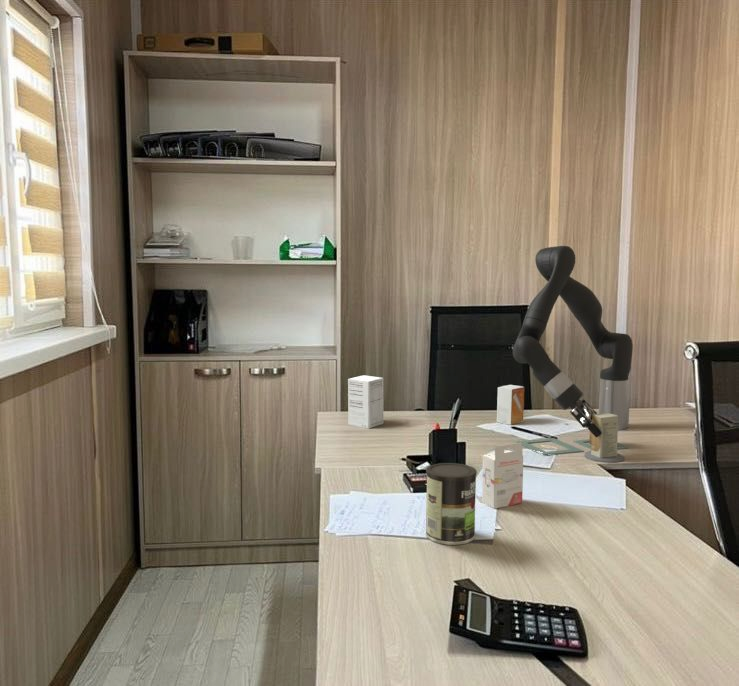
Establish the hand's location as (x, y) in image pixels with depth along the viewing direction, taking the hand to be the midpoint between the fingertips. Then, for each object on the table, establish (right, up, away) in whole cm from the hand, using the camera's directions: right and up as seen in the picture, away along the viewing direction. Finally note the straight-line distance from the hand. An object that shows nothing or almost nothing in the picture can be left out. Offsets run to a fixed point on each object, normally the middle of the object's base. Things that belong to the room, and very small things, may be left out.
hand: (601, 432), depth 197 cm
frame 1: (-12, -6, +12) cm, 18 cm away
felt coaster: (+1, -7, 0) cm, 8 cm away
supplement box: (-69, -3, +41) cm, 81 cm away
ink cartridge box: (-37, -12, -38) cm, 54 cm away
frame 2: (+5, -6, +14) cm, 16 cm away
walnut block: (+5, -6, +14) cm, 16 cm away
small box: (-17, -3, +46) cm, 49 cm away
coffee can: (-51, -14, -58) cm, 78 cm away
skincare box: (+1, -7, 0) cm, 7 cm away
